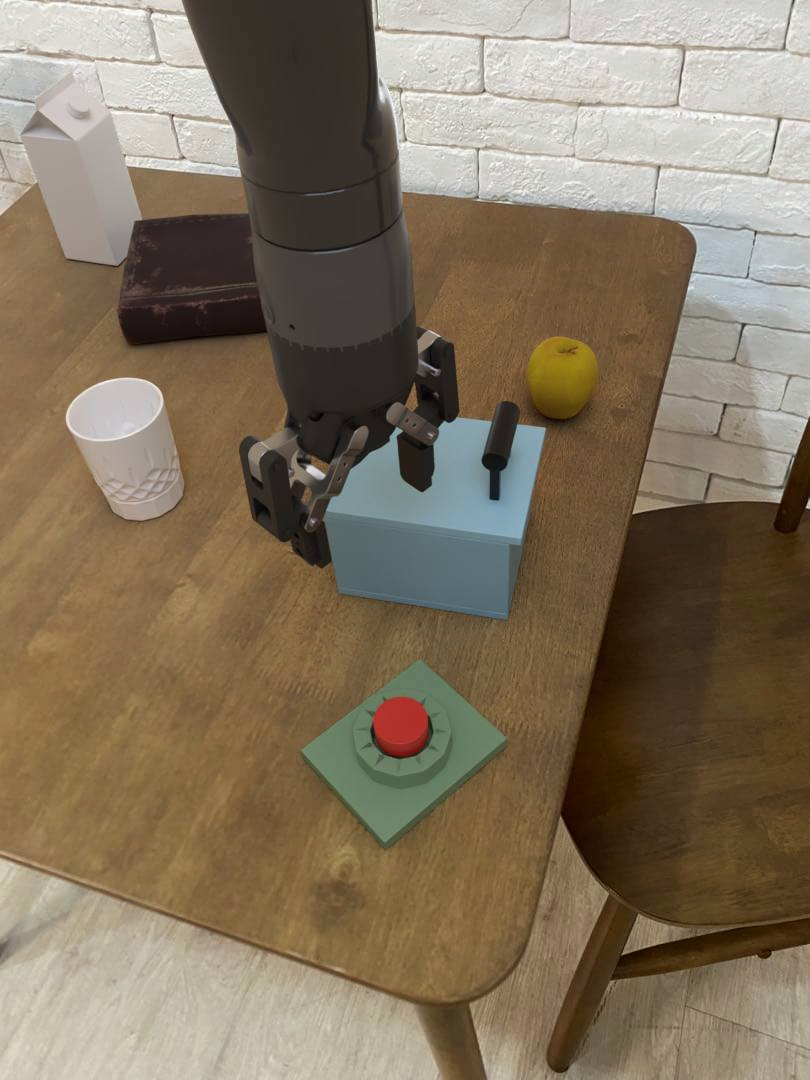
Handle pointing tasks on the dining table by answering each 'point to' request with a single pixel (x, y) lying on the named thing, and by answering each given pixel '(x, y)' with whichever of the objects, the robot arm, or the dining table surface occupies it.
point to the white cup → (128, 446)
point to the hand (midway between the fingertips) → (368, 519)
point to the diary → (189, 279)
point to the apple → (562, 376)
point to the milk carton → (81, 173)
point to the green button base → (403, 782)
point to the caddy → (424, 568)
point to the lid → (453, 482)
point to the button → (401, 726)
